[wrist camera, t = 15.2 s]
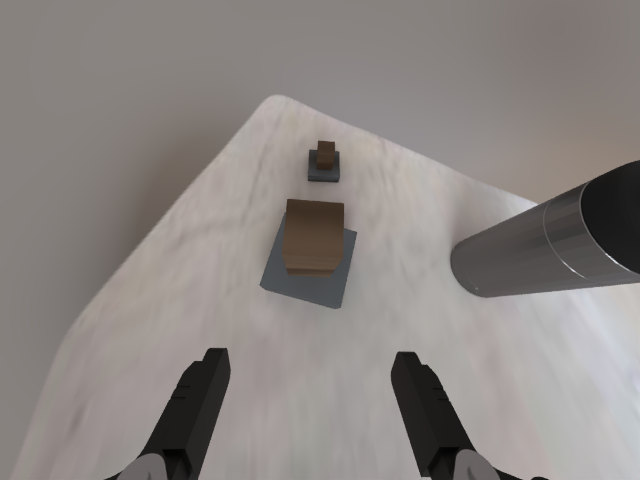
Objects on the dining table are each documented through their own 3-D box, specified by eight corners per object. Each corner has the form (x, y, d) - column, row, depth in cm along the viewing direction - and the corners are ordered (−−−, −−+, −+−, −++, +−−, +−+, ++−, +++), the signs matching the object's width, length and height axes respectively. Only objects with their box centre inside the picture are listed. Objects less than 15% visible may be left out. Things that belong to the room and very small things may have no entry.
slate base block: (334, 309, 32) (340, 307, 27) (265, 290, 32) (259, 285, 27) (349, 243, 35) (357, 232, 30) (287, 226, 35) (284, 212, 30)
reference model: (338, 182, 38) (343, 163, 33) (308, 180, 37) (309, 161, 33) (337, 157, 39) (342, 135, 35) (309, 155, 39) (310, 133, 34)
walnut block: (329, 277, 28) (343, 258, 19) (288, 275, 28) (281, 254, 18) (330, 239, 30) (344, 203, 20) (291, 236, 29) (287, 198, 20)
